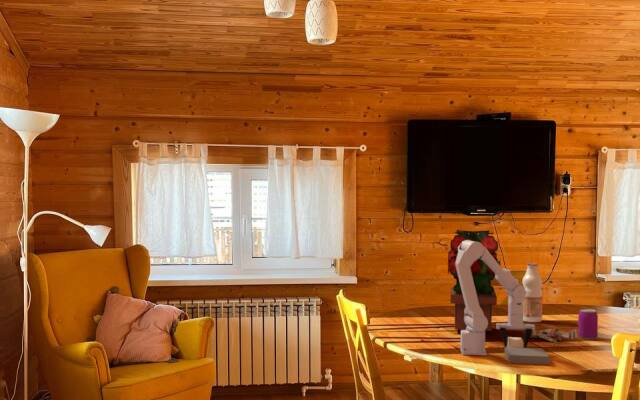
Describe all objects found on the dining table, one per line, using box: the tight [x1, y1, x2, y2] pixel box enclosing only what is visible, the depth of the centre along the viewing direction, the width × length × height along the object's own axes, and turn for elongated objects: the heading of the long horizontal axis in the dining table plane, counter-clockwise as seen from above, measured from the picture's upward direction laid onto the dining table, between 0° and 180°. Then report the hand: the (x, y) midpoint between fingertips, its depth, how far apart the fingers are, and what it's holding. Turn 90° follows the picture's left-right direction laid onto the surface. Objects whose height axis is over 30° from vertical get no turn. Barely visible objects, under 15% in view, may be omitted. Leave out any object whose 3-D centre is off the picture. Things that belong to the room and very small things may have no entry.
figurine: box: [530, 328, 578, 344], centre depth 271 cm, size 6×6×20 cm
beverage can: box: [577, 308, 599, 341], centre depth 276 cm, size 8×8×12 cm
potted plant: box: [447, 229, 501, 335], centre depth 289 cm, size 22×22×45 cm
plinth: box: [504, 346, 550, 366], centre depth 242 cm, size 14×12×3 cm
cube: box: [507, 336, 524, 348], centre depth 254 cm, size 5×5×5 cm
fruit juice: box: [521, 262, 543, 323], centre depth 311 cm, size 9×9×28 cm
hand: (515, 347), depth 254 cm, fingers open, 7 cm apart
